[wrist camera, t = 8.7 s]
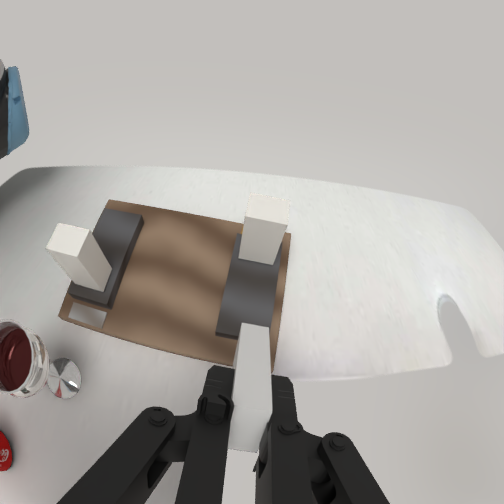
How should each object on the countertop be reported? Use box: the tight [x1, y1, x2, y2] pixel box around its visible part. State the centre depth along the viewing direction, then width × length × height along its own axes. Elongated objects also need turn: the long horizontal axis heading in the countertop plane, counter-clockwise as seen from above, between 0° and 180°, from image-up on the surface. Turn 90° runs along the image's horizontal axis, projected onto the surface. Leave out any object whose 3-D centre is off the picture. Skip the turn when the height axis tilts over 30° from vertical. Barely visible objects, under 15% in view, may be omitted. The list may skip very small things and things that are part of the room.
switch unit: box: [58, 200, 291, 373], centre depth 35 cm, size 18×26×3 cm
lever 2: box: [239, 193, 290, 265], centre depth 32 cm, size 3×4×8 cm
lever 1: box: [46, 223, 112, 292], centre depth 28 cm, size 3×4×8 cm
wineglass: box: [0, 319, 81, 399], centre depth 23 cm, size 7×7×12 cm
